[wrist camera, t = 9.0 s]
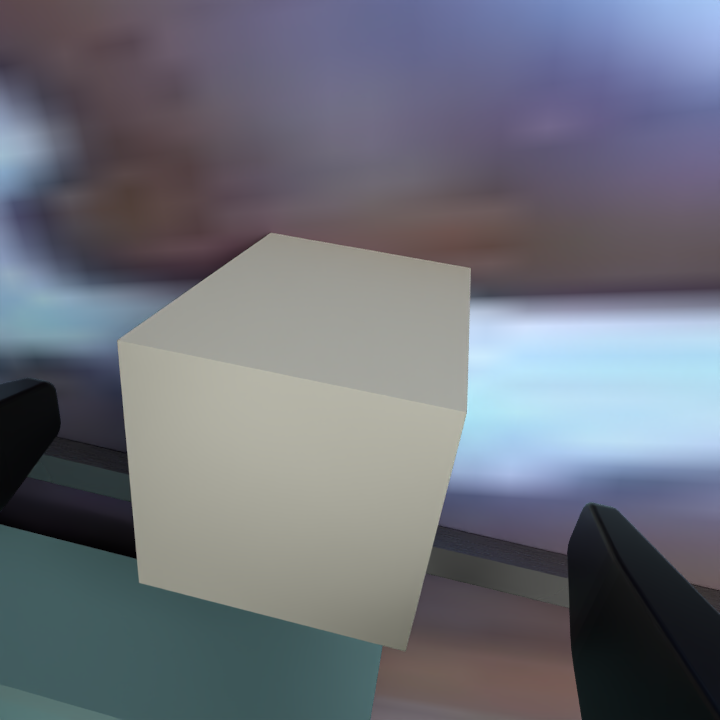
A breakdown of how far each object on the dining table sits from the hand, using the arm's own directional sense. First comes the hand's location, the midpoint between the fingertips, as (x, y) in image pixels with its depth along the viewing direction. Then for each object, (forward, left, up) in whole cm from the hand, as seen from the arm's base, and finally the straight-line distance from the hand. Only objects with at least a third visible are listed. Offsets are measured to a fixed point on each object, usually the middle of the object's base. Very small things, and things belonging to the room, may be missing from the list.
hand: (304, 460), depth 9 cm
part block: (0, 0, -5) cm, 5 cm away
